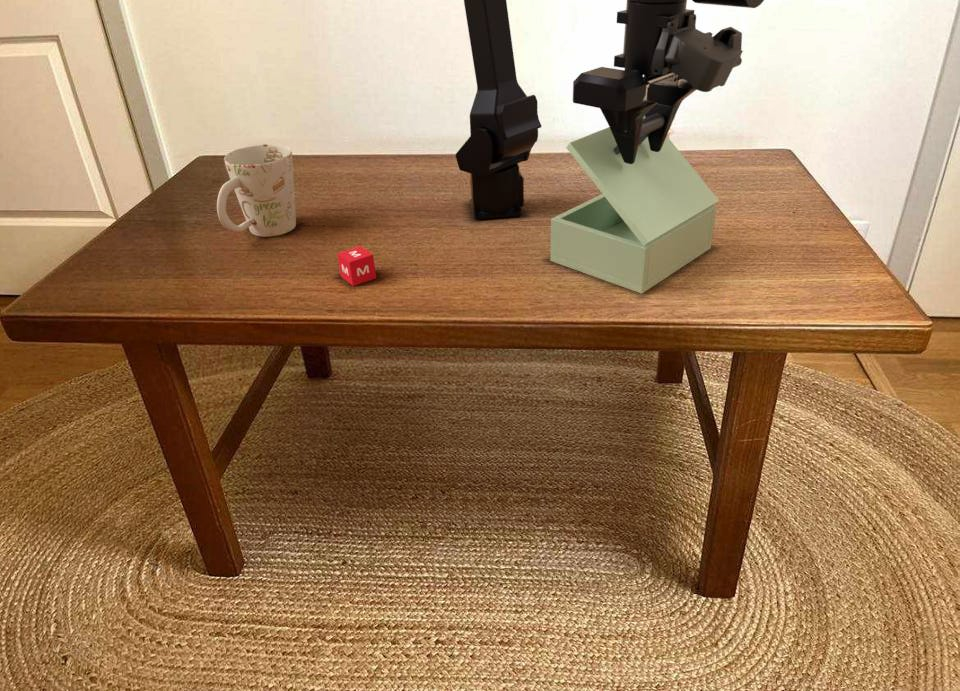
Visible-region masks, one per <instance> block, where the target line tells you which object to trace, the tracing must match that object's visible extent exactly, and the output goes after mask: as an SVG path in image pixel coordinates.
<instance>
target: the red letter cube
mask: <svg viewBox="0 0 960 691" xmlns="http://www.w3.org/2000/svg"><path fill="white" fill-rule="evenodd" d="M337 260H338V267H339V274H340V277H341V278H342V279H343V280H344V281H346V282H347V283H349V284H350V285H351V286H352V287H356V286H358V285H360V284H363V283H366V282H369V281H372V280H375V279H377V273H376V264H375V258H374V254H373V253H371V252H370V251H368V250H367V249H366V248H364V247H363V246H361V245H360V246H357V247H353V248H350V249H347V250H344V251H341V252H338V253H337Z"/></svg>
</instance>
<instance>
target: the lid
mask: <svg viewBox="0 0 960 691" xmlns="http://www.w3.org/2000/svg"><path fill="white" fill-rule="evenodd" d="M664 123H665V119H664V117H663V115H662V114H659V113H656V114H654V115H651V116H649V117H646V118H645V116H644V118H643V123H642V128H641V134H640V139H639V145H638V150H637V154H636V158H635V162H634V163H633V164H628V163H625V162H624V161H623V158H622V156H621V153H620V151H619V148H618V146H617V144H616V141H615V139H614V136H613V134H612V132H611V129H610V127H609V126H608V127H606V128H603V129H601V130H598V131H596V132H593V133H591V134H588V135H585V136H583V137H580V138H577V139H576V140H573V141H570V142H569V143H568V144H567V145H566V146H565V147H566V150H567V151H568V152H569V153H570V155H571V156H572V157H573V159H574V160H575V161H576V162H577V164H578V165H579V166H580V167H581V168H582V170H583V171H584V173H585V174H586V175H587V176H588V178H589V179H590V180H591V181H592V183H593V184H594V185H595V186H596V188H597V189H598V190H599V191H600V193H601V194H603V195H604V196H605V198H606V199H607V200H608V201H609V203H610V204H611V205H612V206H613V208H614V209H615V210H616V212H617V213H618V214H619V215H620V217H621V218H622V219H623V220H624V222H625V223H626V224H627V226H628V227H629V228H630V229H631V231H632V232H633V233H634V234H635V236H636V237H637V238H638V239H639V241H640V242H641V243H642V245H643V246H646V245H648V244H649V243H651V242H653V241H654V240H656V239H658V238H660V237H661V236H663V235H665V234H666V233H668V232H670V231H671V230H673V229H675V228H676V227H678V226H680V225H681V224H683V223H685V222H687V221H688V220H690V219H692V218H693V217H695V216H697V215H698V214H700V213H702V212H703V211H705V210H707V209H708V208H710V207H712V206H716V205H717V204H718V203H719V202H720V199H719V198H718V197H717V195H716V194H715V192H713V190H711V188H710V187H709V186H708V185H707V183H706V182H705V181H704V180H703V178H702V177H701V176H700V175H699V173H698V172H697V170H695V169H694V168H693V166H692V165H691V163H690V162H689V160H687V159H686V157H685V156H684V155H683V154H682V153H681V152H680V150H679V149H678V147H676V146H675V144H674V143H673V141H671V139H669V138H668V137H667V136H666V139H665V141H664V144H663V146H662V148H661V150H660V151H659V152H654V151H651V150H650V146H649V141H648V136H649V135H650V134H651V132H652V131H655V130H657V129H659V128H661V127H663V125H664Z"/></svg>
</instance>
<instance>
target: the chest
mask: <svg viewBox="0 0 960 691" xmlns="http://www.w3.org/2000/svg"><path fill="white" fill-rule="evenodd" d="M716 214H717V205H713V206H712V207H710V208H708V209H707V210H705V211H703V212H702V213H700V214H698V215H697V216H695V217H693V218H692V219H690V220H688V221H687V222H685V223H683V224H681V225H680V226H678V227H676V228H675V229H673V230H671V231H670V232H668V233H666V234H665V235H663V236H661V237H660V238H658V239H656V240H654V241H653V242H651V243H649V244H648V245H646V246H643V245H642V243H641V242H640V241H639V239H638V238H637V237H636V236H635V234H634V233H633V232H632V231H631V229H630V228H629V227H628V226H627V224H626V223H625V222H624V220H623V219H622V218H621V217H620V215H619V214H618V213H617V212H616V210H615V209H614V208H613V206H612V205H611V204H610V203H609V201H608V200H607V199H606V198H605V196H604V195H603V194H602V193H601V194H599V195H596V196H595V197H593V198H591V199H589V200H586V201H585V202H582V203H581V204H578V205H576V206H574V207H572V208H570V209H568V210H566V211H564V212H562V213H560V214H558V215H556V216H554V217H552V218H550V251H549V252H550V254H549V256H550V257H549V258H550V262H553V263H555V264H558V265H561V266H564V267H567V268H569V269H571V270H574V271H578V272H580V273H583V274H586V275H588V276H591V277H595V278H597V279H599V280H601V281H605V282H607V283H610V284H613V285H616V286H619V287H621V288H625V289H627V290H631V291H633V292H636V293H639V294H641V295H642V294H644V293H645V292H647V291H648V290H650V289H651V288H653V287H654V286H656V285H657V284H659V283H660V282H662V281H664V280H665V279H667V278H668V277H669V276H671V275H672V274H674V273H675V272H677V271H679V270H680V269H681V268H683V267H685V266H686V265H687V264H689V263H691V262H692V261H693V260H695V259H697V258H698V257H700V256H701V255H703V254H704V253H706V252H707V251H709V250H711V249H712V248H711V246H712V242H713V234H714V227H715V220H716Z"/></svg>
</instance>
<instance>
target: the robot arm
mask: <svg viewBox="0 0 960 691" xmlns="http://www.w3.org/2000/svg"><path fill="white" fill-rule="evenodd" d="M764 1H765V0H691V2H693V3H695V4H702V5H712V6H725V7H736V8H747V9H748V8H749V9H756V8H758V7H760V6H761V5H762V3H764ZM463 5H464V10H465V16H466V24H467V31H468V38H469V43H470V50H471V55H472V56H471V57H472V63H473V67H474V69H473V70H474V75H475V81H476V93H475V96H474V99H473V102H472V106H471V109H470V112H469V132H470V135H469V137H468V139H467V140H466V141H465V142H464V143H463V144H462V146H461V147H460V148H459V149H458V150H457V151H456V153H455V160H456V163H457V165H458V169H459V171H461V172H464V173H466V174H469V178H470V199H469V206H470V209H471V213H472V217H473V219H474V220H487V219H500V218H513V217H521V216H523V211H522V210H523V209H522V208H523V207H524V205H525V198H524V197H525V192H524V190H525V189H524V186H525V185H524V176H523V174H522V172H521V171H520V165H519V164H520V163H522V162H527V161H528V160H529V158H530V155H531V151H532V149H533V147H534V145H535V144H536V143H537V142H538V140H539V139H538V138H539V129H540V128H541V129H542V124H541V121H540V119H539V114H538V98H537V96H536V95H535V94H530V95H527V94H526V93H525V91H524V90H523V88H522V87H521V86H520V84H519V82H518V77H517V71H516V63H515V55H514V48H513V40H512V34H511V24H510V17H509V12H508V10H509V9H508V4H507V0H463ZM687 5H688V0H626V7H625V8H626V9H624V10H619V11H617V12H616V24H622V25H624V36H623V48H622V49H623V51H622V53H619V54H617V55H614V57H613V67H614V68H611V67H605V66H599V67H597V68H594V69H590V70H587V71H584V72H581V73H580V74H579V75H578V76H577V77H576V78H575V79H574V80H573V83H572V102H573V104H577V105H582V106H587V107H593V108H597V109H599V110H600V111H601V113H602V115H603V117H604V120H605V121H606V123H607V125H608V127H610V129H611V132H612V134H613V136H614V139H615V141H616V144H617V146H618V148H619V151H620V153H621V156H622V158H623V161H624V162H625V163H628V164H633V163H634V162H635V158H636V154H637V150H638V145H639V139H640V134H641V128H642V123H643V118H644V116H645V118H646V117H649V116H651V115H654V114H656V113H659V114H662V115H663V117H664V119H665V123H664V125H663V127H661V128H659V129H657V130H655V131H652V132H651V134H650V135H649V136H648V141H649V146H650V150H651V151H654V152H659V151H660V150H661V148H662V146H663V144H664V141H665V139H666V136H667V134H668V131H669V129H670V127H671V128H672V126H671V124H672V125H673V123H674V121H673V119H674V117H675V118H676V114H677V112H678V110H679V108H680V106H681V104H682V103H683V101H684V100H685V99H686V98H688V97H689V96H690V95H692V94H693V93H694V92H696V91H699V92H701V93H708V92H709V93H710V92H711V91H713V89H715V88H718V87H724V86H725V85H726V83H727V80H728V79H729V77H730V75H731V73H732V71H733V69H734V68H736V67H739V66H741V64H742V62H743V59H742V54H743V52H744V50H742V42H743V33H742V31H739V30H738V29H736V28H734V27H733V26H729V27H725V28H722V29H721V30H719V31H718V32H717V33H716V34H715V35H713V33H712V32H711V31H708V32H703V31H702V30H699V29H697V28H696V23H697V15H696V13H695V9H689V8H687ZM619 68H622V69H619ZM674 120H675V119H674ZM672 122H673V123H672Z"/></svg>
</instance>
